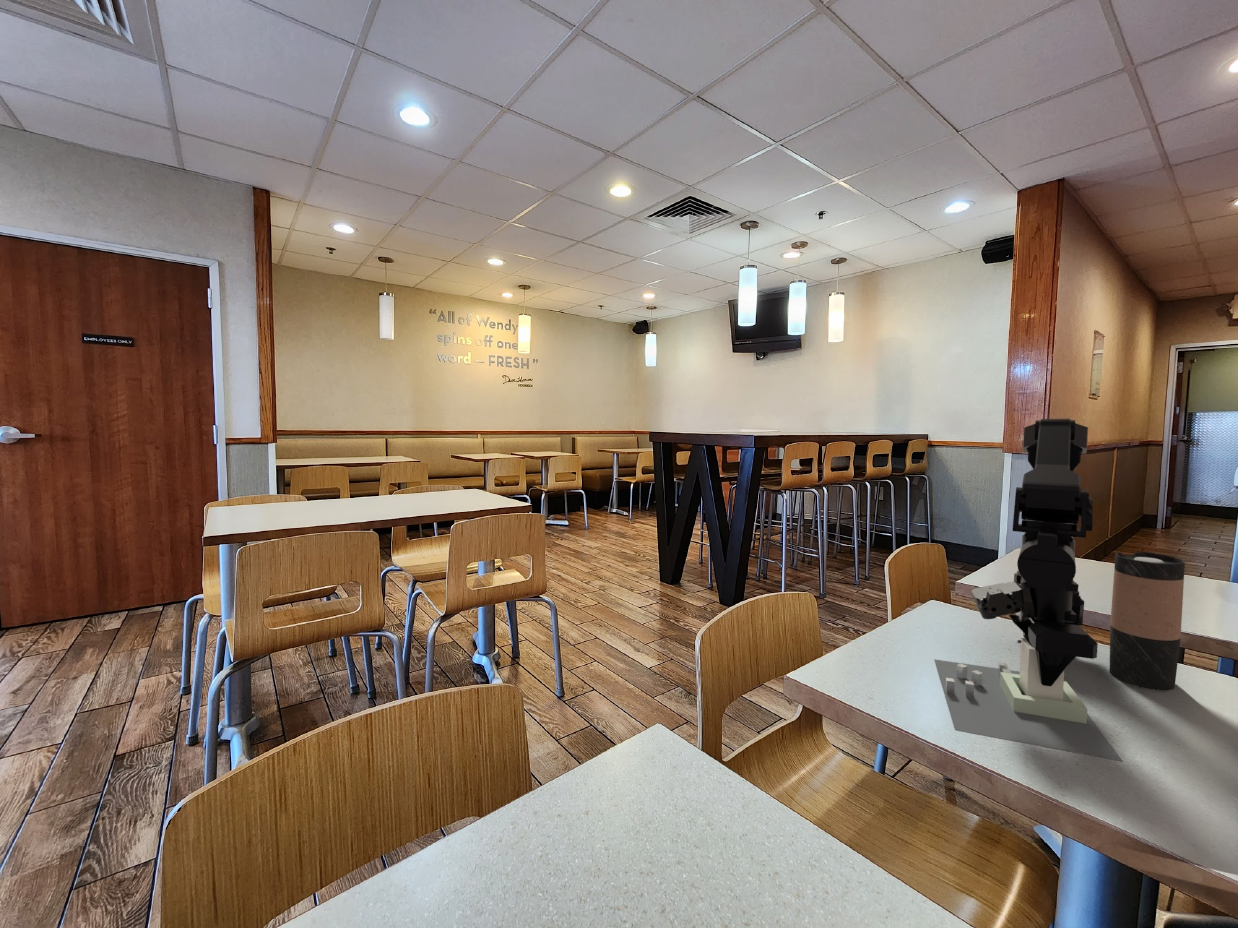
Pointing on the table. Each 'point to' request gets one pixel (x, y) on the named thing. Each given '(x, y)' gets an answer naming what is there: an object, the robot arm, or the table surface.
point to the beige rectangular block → (1036, 676)
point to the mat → (1015, 717)
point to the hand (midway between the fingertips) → (1041, 678)
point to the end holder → (1043, 701)
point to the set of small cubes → (976, 679)
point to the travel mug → (1146, 619)
